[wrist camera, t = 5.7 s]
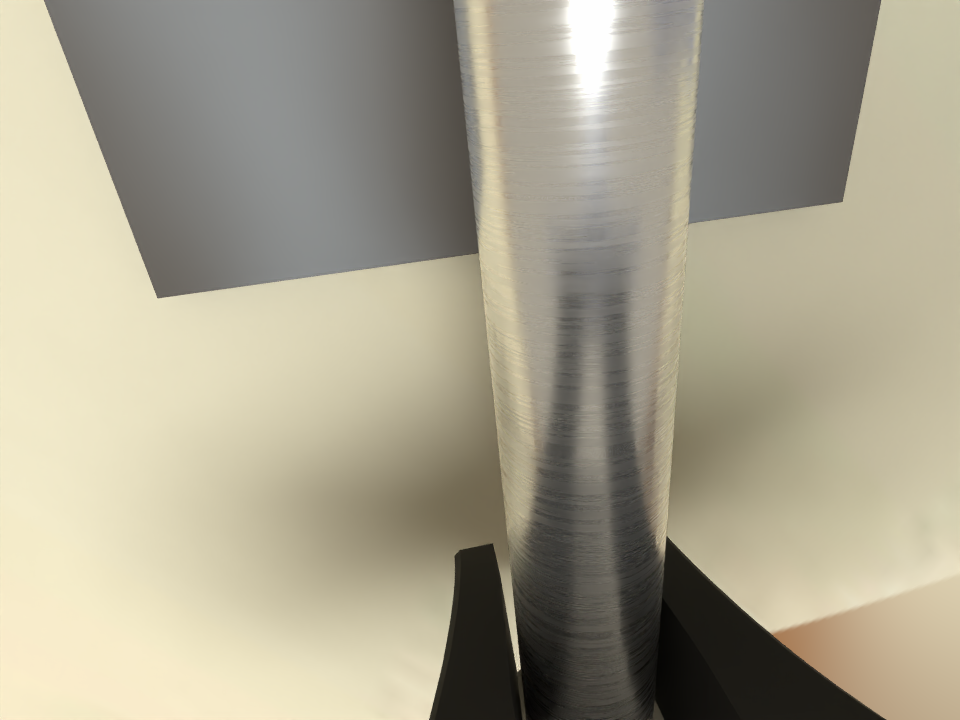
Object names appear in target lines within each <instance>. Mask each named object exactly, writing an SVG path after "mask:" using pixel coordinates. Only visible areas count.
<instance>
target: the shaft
mask: <svg viewBox="0 0 960 720" xmlns="http://www.w3.org/2000/svg"><path fill="white" fill-rule="evenodd" d="M453 2H454V12H455V21H456V31H457V41H458V51H459V61H460V71H461V81H462V91H463V101H464V111H465V120H466V130H467V140H468V150H469V160H470V170H471V180H472V190H473V200H474V210H475V219H476V229H477V239H478V249H479V259H480V269H481V279H482V289H483V299H484V309H485V318H486V328H487V338H488V348H489V358H490V368H491V378H492V388H493V398H494V408H495V418H496V427H497V437H498V447H499V457H500V467H501V477H502V487H503V497H504V507H505V517H506V526H507V536H508V546H509V556H510V566H511V576H512V586H513V596H514V606H515V616H516V625H517V635H518V645H519V655H520V665H521V669H520V670H519V671H518V672H517V677H518V685H519V694H520V702H521V711H522V719H523V720H664V718H663V716H662V714H661V712H660V709H659V707H658V705H657V703H656V701H655V688H656V674H657V659H658V645H659V631H660V617H661V603H662V589H663V575H664V561H665V546H666V532H667V518H668V504H669V490H670V476H671V462H672V448H673V433H674V419H675V405H676V391H677V377H678V363H679V349H680V335H681V320H682V306H683V292H684V278H685V264H686V250H687V236H688V221H689V207H690V193H691V179H692V165H693V151H694V137H695V123H696V108H697V94H698V80H699V66H700V52H701V38H702V24H703V10H704V0H453Z"/></svg>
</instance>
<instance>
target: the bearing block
mask: <svg viewBox="0 0 960 720" xmlns="http://www.w3.org/2000/svg"><path fill="white" fill-rule="evenodd" d="M44 2H45V4H46V7H47V10H48V12H49V15H50V17H51V20H52V23H53V25H54V28H55V31H56V33H57V36H58V38H59V41H60V44H61V46H62V49H63V52H64V54H65V57H66V59H67V62H68V65H69V67H70V70H71V73H72V75H73V78H74V80H75V83H76V86H77V88H78V91H79V93H80V96H81V99H82V101H83V104H84V107H85V109H86V112H87V114H88V117H89V120H90V122H91V125H92V128H93V130H94V133H95V135H96V138H97V141H98V143H99V146H100V149H101V151H102V154H103V156H104V159H105V162H106V164H107V167H108V170H109V172H110V175H111V177H112V180H113V183H114V185H115V188H116V190H117V193H118V196H119V198H120V201H121V204H122V206H123V209H124V211H125V214H126V217H127V219H128V222H129V225H130V227H131V230H132V232H133V235H134V238H135V240H136V243H137V246H138V248H139V251H140V253H141V256H142V259H143V261H144V264H145V267H146V269H147V272H148V274H149V277H150V280H151V282H152V285H153V288H154V290H155V293H156V295H157V298H163V297H170V296H177V295H185V294H192V293H199V292H206V291H213V290H220V289H227V288H234V287H241V286H248V285H256V284H263V283H270V282H277V281H284V280H291V279H298V278H305V277H312V276H320V275H327V274H334V273H341V272H348V271H355V270H362V269H369V268H376V267H383V266H391V265H398V264H405V263H412V262H419V261H426V260H433V259H440V258H447V257H454V256H462V255H469V254H476V253H479V249H478V239H477V229H476V219H475V210H474V200H473V190H472V180H471V170H470V160H469V150H468V140H467V130H466V120H465V111H464V101H463V91H462V81H461V71H460V61H459V51H458V41H457V31H456V21H455V12H454V2H453V0H44ZM880 4H881V0H704V10H703V24H702V38H701V52H700V66H699V80H698V94H697V108H696V123H695V137H694V151H693V165H692V179H691V193H690V207H689V221H688V224H689V223H696V222H703V221H710V220H717V219H724V218H731V217H739V216H746V215H753V214H760V213H767V212H774V211H781V210H788V209H795V208H802V207H810V206H817V205H824V204H831V203H838V202H843V197H844V191H845V186H846V181H847V176H848V171H849V165H850V160H851V155H852V150H853V144H854V139H855V134H856V129H857V124H858V118H859V113H860V108H861V103H862V98H863V92H864V87H865V82H866V77H867V72H868V66H869V61H870V56H871V51H872V46H873V40H874V35H875V30H876V25H877V19H878V14H879V9H880Z"/></svg>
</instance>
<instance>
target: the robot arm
mask: <svg viewBox="0 0 960 720" xmlns="http://www.w3.org/2000/svg"><path fill="white" fill-rule="evenodd" d="M655 701H656V703H657V705H658V707H659V709H660V712H661V714H662V716H663V718H664V720H886V719H884V718H883V717H881V716H880V715H878V714H877V713H875V712H874V711H872V710H871V709H870V708H868V707H867V706H865V705H864V704H862V703H861V702H860V701H858V700H857V699H855V698H854V697H852V696H851V695H850V694H848V693H847V692H845V691H844V690H843V689H841V688H840V687H838V686H836V684H834V683H833V682H832V681H830V680H829V679H828V678H826V677H824V676H823V675H822V674H821V673H819V672H818V671H817V670H815V669H814V668H813V667H811V666H810V665H809V664H807V663H806V662H805V661H804V660H802V659H801V658H800V657H798V656H797V655H796V654H794V653H793V652H792V651H791V650H790V649H788V648H787V647H786V646H785V645H783V644H782V643H781V642H780V641H779V640H777V639H776V638H775V637H774V636H773V635H771V634H770V633H769V632H768V631H767V630H766V629H764V628H763V627H762V626H761V625H760V624H758V623H757V622H756V621H755V620H754V619H753V618H751V617H750V616H749V615H748V614H747V613H746V612H745V611H743V610H742V609H741V608H740V607H739V606H738V605H737V604H736V603H735V602H733V601H732V600H731V599H730V598H729V597H728V596H727V595H726V594H725V593H724V592H723V591H722V590H720V589H719V588H718V587H717V586H716V585H715V584H714V583H713V582H712V581H711V580H710V579H709V578H708V577H707V576H706V575H705V574H703V573H702V572H701V571H700V570H699V569H698V568H697V567H696V566H695V565H694V564H693V563H692V562H691V561H690V560H689V559H688V558H687V557H686V556H685V555H684V554H683V553H682V552H681V551H680V550H679V549H678V548H677V546H676V545H675V544H674V543H673V542H672V541H671V540H670V539H669V538H668V537H667V536H666V546H665V561H664V575H663V589H662V603H661V617H660V631H659V645H658V659H657V674H656V688H655ZM429 720H523V719H522V711H521V702H520V694H519V685H518V677H517V670H516V664H515V658H514V653H513V647H512V641H511V635H510V630H509V624H508V618H507V612H506V606H505V601H504V595H503V589H502V583H501V578H500V573H499V569H498V564H497V560H496V555H495V551H494V547H493V543H492V544H487V545H483V546H478V547H473V548H468V549H463V550H460V551H459V552H458V553H457V554H456V555H455V585H454V597H453V605H452V613H451V621H450V626H449V632H448V638H447V643H446V649H445V654H444V660H443V665H442V669H441V673H440V678H439V682H438V686H437V690H436V694H435V698H434V702H433V707H432V711H431V715H430V718H429Z"/></svg>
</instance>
